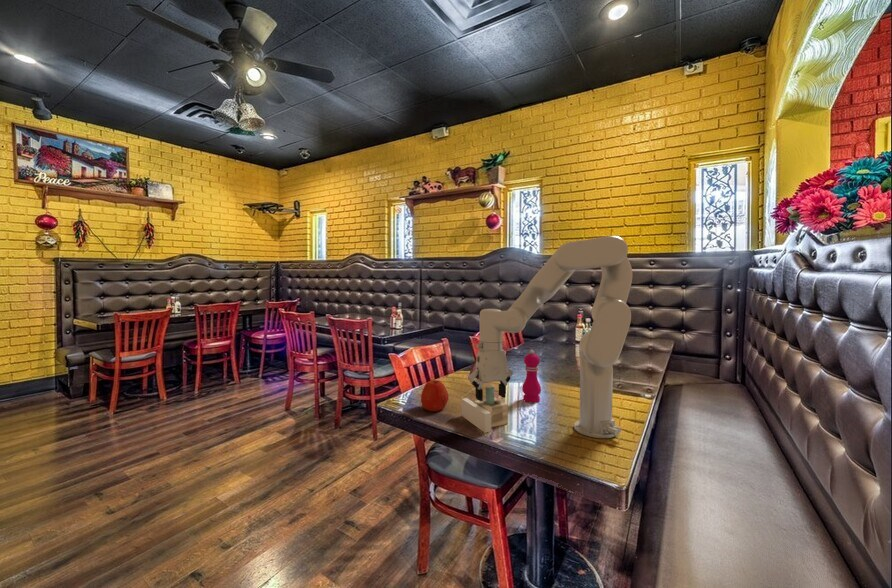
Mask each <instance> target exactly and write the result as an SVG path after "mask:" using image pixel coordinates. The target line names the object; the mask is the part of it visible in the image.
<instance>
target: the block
mask: <svg viewBox="0 0 892 588" xmlns="http://www.w3.org/2000/svg"><path fill="white" fill-rule="evenodd" d="M473 402H474V403H476V404H477V405H479V406H480V407H482V408H484V409H485V410H487V411H489V412H490V413H491V428H494V427H501V426H505V424H506V425H508V423H509V422H508V421H509V420H508V417H509V416H508V415H509V414H508V413H509V409H508V403H505V402H504V401H502V400H500V399H498V398H496V397H494V405H487V404H486V398H483V401H479V400H477V399H476V400H474V401H473Z"/></svg>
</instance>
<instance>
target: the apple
mask: <svg viewBox="0 0 892 588" xmlns="http://www.w3.org/2000/svg"><path fill="white" fill-rule="evenodd" d="M420 394H421V395H420V401H421V402H420V403H421V406H422V408H423V409H424V410H425V411H428V412H438V411H439V412H440V411H442V410H443V409H445V407H446V406H447V404H448V401H449V393H448V390H447V388H446V386H445V384H444V383H443V382H442V381H440V380H437V379H433V380H428V381H427V382H426V383H425V385H424V387H423V388H422V391H421V393H420Z"/></svg>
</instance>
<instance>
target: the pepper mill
mask: <svg viewBox="0 0 892 588" xmlns="http://www.w3.org/2000/svg"><path fill="white" fill-rule="evenodd" d="M540 361H541V360H540V357H539V355H537V354H535V351H534V350H533V349H530V350H529V353H528V354H526V355H525V356H524V358H523V363H524V364H525V366H524V368H525V369H524V370H525V371H526V376H525V379H524V382H523V384H522V386H521V387H522V389H521V390H522V393H523V395H522V396H523V399H522V400H523V401H524V402H525V401H526V403H528V402H532V403H531V404H534V403H533V402H537V403H539V402H541V401H540V399H541V398H540V397H541V396H540V394H541V393H542V387H541V384H540V382H539V379H538V371H539V365H540Z"/></svg>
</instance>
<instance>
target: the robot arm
mask: <svg viewBox="0 0 892 588" xmlns="http://www.w3.org/2000/svg"><path fill="white" fill-rule="evenodd" d="M628 253H629V248H628V244H627V242H626V241H625V239H623V238H622V237H621V236H618V235H617V236H616V235H607V236H606V235H605V236H601V237H595V238H590V239H589V238H588V239H581V240H575V241H568V242H565V243H562V245H560V246H559V247H558V248H557V249H556V250H555V252H553V254H552V255H551V256H550V257H549V259H548V260H547V261H546V262H545V263H544V265H543V266H541V268H540V269H539V270H538V271H537V273H536V274H535V275H534V276H533V277H532V279H530V281H529V283H528V284H527V286H526V288H525V289H524V290H523V292H522V293H521V294H520V295H519V297H518V298H516V300H514V302H513V303H512V304H511V306H509V308H508V309H507V310H501V309H499V308H484V309H483V308H482V309H481V310H480V312H479V342H478V343H476V348H477V349H478V350H477V354H476V361H475V370H474V371H473V372H471V373H470V374H469V375H468V376H467V379H468V381H469V382H470V384H471V385H472V386H473V387H474V388H475V398H476V400H479V401H483V399H484V391H483V388H482V387H483V386H484V384H487V383H494V382H496V383H497V382H499V383H498V396H500V398H506V394H507V386H508V383H509V381H510V380H511V378H512V376H513V374H514V372H513V370H511V369H510V368H508V361H507V356H506V355H507V354H506V351H505V349H503V333H504V332H505V333H512V334H517V333H520V332H521V331H523V330H524V328H525V327H526V325H527V322H529V320H530V318H531V317H532V316H533V315H534V314H535V313H536V311H537V310H538V309H539V308H541V306H542V305H544V303H546V302H548V301H550V299H552V297H554V296H555V295H556V294H557V292H558V291H559V290H560V289H561V288H562V287H563V286H564V284H565V283H566V282H567V280H568V279H570V277H571V276H572V275H573V274H574V273H575V272H576V271H580V270H587V269H590V270H591V269H595V268H600V269H601V280H600V283H599V287H598V291H597V294H596V297H595V299H594V303H593V304H592V308H591V312H590V313H591V317H592V320H593V322H592V325H591V328H590V330H588V331H586V332H585V333H583V334H582V336H581V338H580V341H579V346H578V348H579V349H578V351H579V353H578V354H579V420H577V421H575V422H574V423H573V428H574V430H575V431H576V432H577V433H578V434H581V435H583V436H585V437H590V438H595V439H611V438H614V437H618V436H620V433H621V432H622V428H621V427H619V426H616V419H613V387H614V386H613V383H614V373H613V372H614V368H613V365H614V364H615V363H617V362H618V360H619V357H620V356H621V353H622V350H623V348H624V344H625V340H626V338H627V336H628V333H629V329H630V325H631V321H632V312H631V309H630V307H629V305H628V304H627V303H628V302H627V301H628V298H629V295H630V292H631V286H632V282H633V268H632V265H631V263H630V260H629V258H628ZM475 379H476V380H475Z"/></svg>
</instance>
